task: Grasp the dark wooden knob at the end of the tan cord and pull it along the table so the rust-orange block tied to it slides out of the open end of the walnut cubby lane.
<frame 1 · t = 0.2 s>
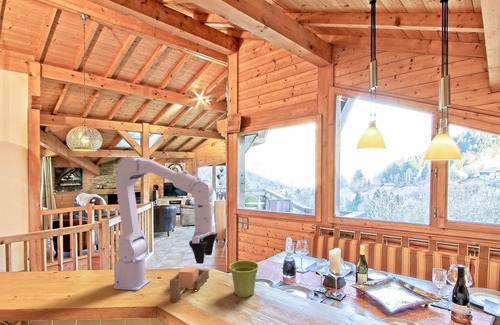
hand: (204, 258, 91), 10 cm above the counter, tool pointing down, fingers open, 7 cm apart
cubby lane: (190, 284, 96), on the counter
tethered block: (189, 285, 95), on the counter
plant pot: (244, 293, 88), on the counter
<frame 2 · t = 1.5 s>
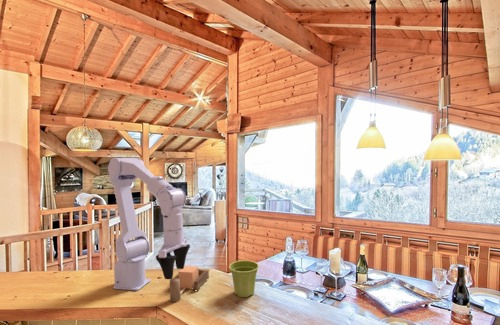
hand: (174, 273, 85), 8 cm above the counter, tool pointing down, fingers open, 7 cm apart
nothing on the counter moved.
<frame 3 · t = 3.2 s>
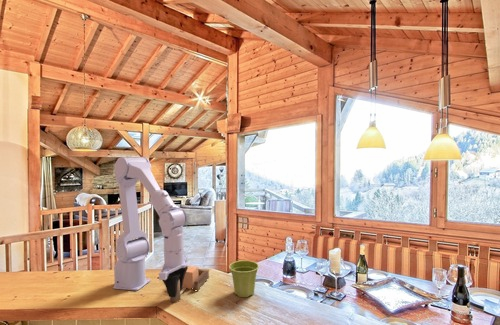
hand: (175, 293, 85), 2 cm above the counter, tool pointing down, fingers closed on tethered block, 3 cm apart
tethered block: (189, 285, 95), on the counter, touching gripper
everything else where it was.
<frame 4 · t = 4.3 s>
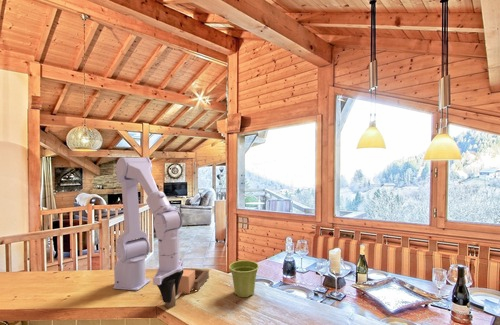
hand: (170, 298, 82), 2 cm above the counter, tool pointing down, fingers closed on tethered block, 3 cm apart
tethered block: (185, 289, 91), on the counter, touching gripper
everything else where it was.
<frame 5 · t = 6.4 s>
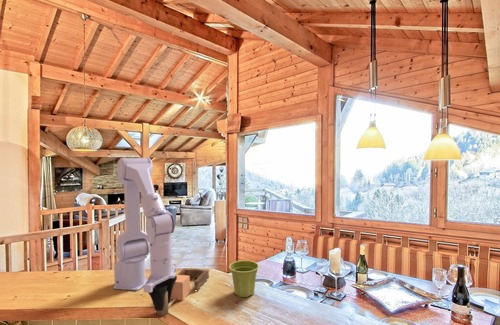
hand: (162, 306, 77), 2 cm above the counter, tool pointing down, fingers closed on tethered block, 3 cm apart
tethered block: (179, 295, 87), on the counter, touching gripper
everything else where it was.
when the fingers open (2 cm above the counter, at t = 6.4 s): tethered block stays where it is, on the counter.
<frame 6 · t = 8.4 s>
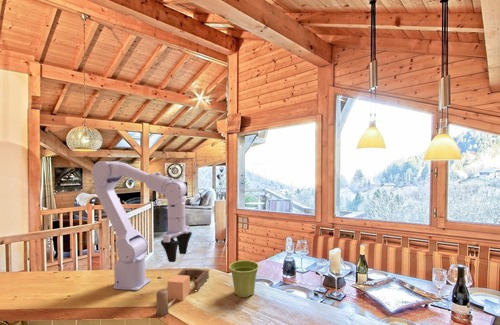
hand: (177, 257, 93), 10 cm above the counter, tool pointing down, fingers open, 7 cm apart
tethered block: (179, 296, 87), on the counter
everything else where it was.
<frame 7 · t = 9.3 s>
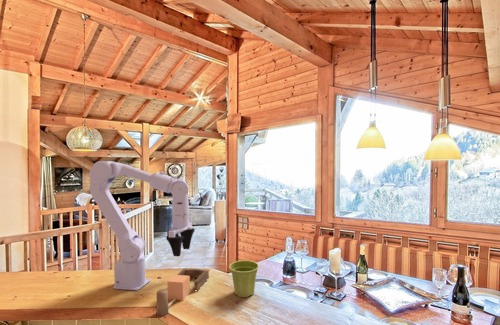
hand: (181, 252, 99), 10 cm above the counter, tool pointing down, fingers open, 7 cm apart
nothing on the counter moved.
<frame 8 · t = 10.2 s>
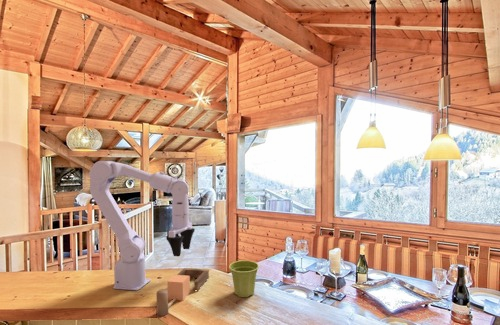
hand: (181, 252, 99), 10 cm above the counter, tool pointing down, fingers open, 7 cm apart
nothing on the counter moved.
at the end: tethered block inside the target area (2.5 cm from its centre), on the counter; tethered block tilted 0°; the gripper is holding nothing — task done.
